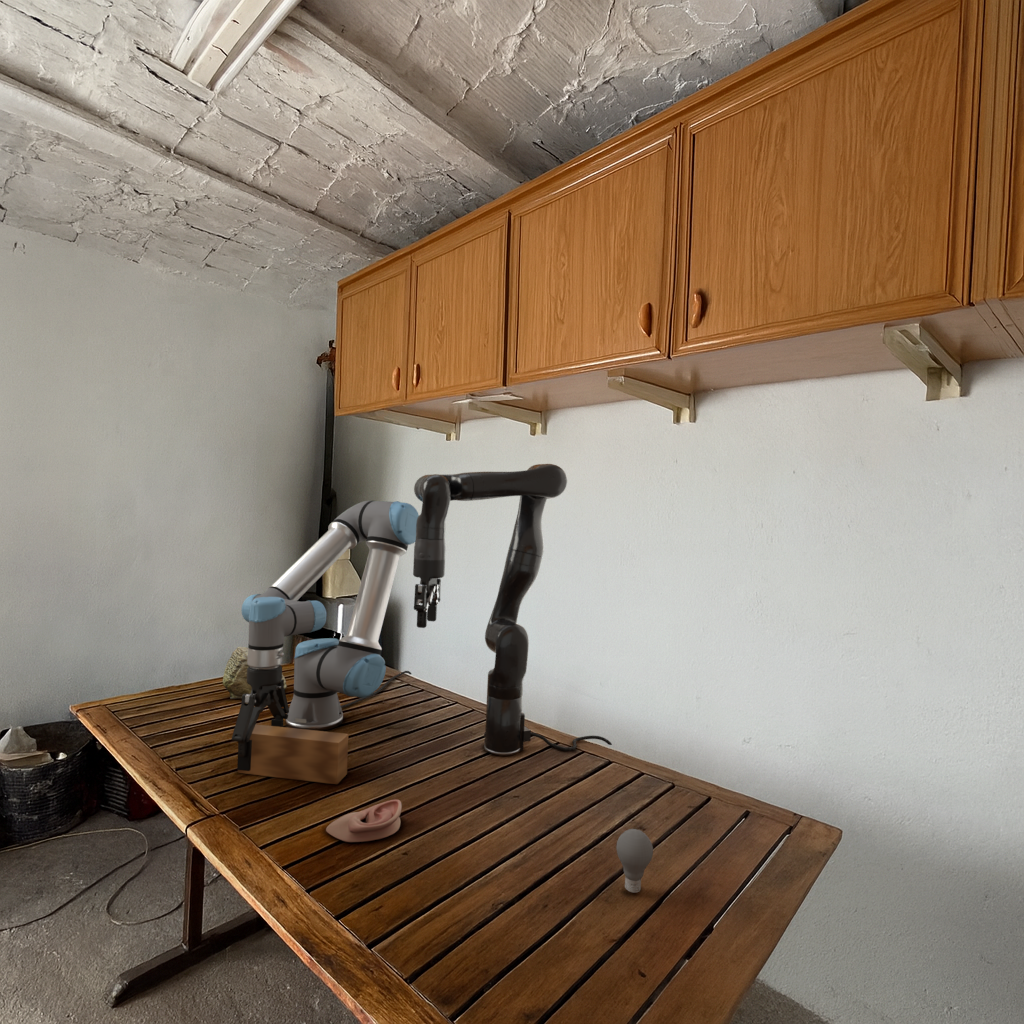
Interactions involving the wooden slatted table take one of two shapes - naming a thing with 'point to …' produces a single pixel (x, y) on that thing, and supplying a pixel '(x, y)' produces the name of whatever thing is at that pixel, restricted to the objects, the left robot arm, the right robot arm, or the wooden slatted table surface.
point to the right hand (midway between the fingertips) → (426, 624)
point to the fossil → (238, 674)
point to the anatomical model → (368, 823)
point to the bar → (298, 754)
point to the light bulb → (634, 857)
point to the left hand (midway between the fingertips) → (260, 757)
